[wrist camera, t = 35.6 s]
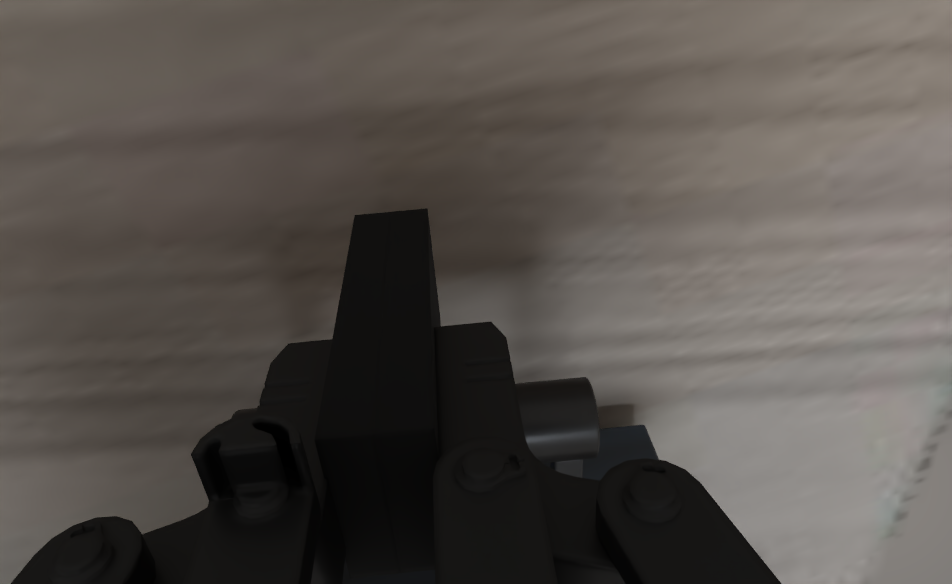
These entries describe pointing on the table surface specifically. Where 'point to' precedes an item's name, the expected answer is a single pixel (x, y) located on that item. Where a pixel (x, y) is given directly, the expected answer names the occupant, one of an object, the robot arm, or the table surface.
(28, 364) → the table surface
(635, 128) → the table surface
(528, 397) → the drawer
